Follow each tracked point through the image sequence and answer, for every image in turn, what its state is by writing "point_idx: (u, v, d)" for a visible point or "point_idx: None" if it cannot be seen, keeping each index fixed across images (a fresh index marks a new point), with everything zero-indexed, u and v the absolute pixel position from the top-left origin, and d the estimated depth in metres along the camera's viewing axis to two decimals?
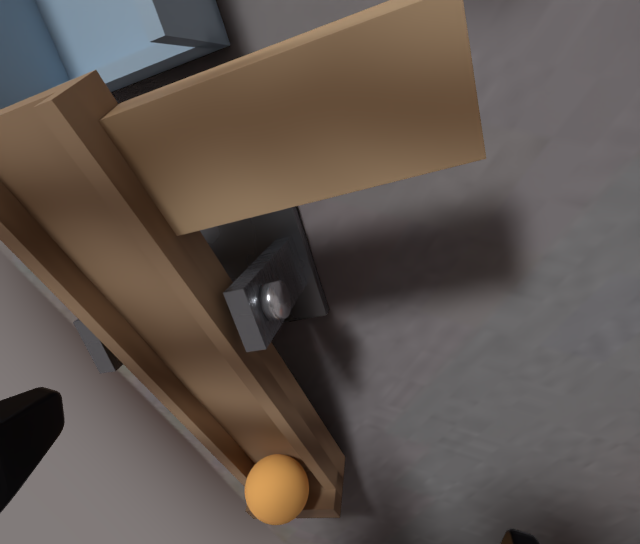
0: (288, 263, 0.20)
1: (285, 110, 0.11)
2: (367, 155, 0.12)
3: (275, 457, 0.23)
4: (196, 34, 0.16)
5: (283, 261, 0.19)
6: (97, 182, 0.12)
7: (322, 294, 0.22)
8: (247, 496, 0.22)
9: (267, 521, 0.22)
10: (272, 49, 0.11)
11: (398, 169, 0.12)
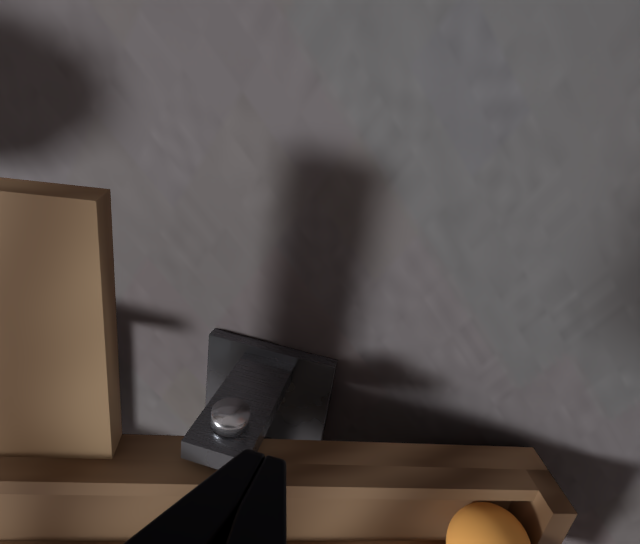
0: (250, 374, 0.19)
1: (9, 334, 0.14)
2: (67, 292, 0.13)
3: (451, 520, 0.18)
4: None
5: (240, 378, 0.19)
6: (15, 490, 0.15)
7: (316, 358, 0.21)
8: None
9: None
10: None
11: (88, 273, 0.13)
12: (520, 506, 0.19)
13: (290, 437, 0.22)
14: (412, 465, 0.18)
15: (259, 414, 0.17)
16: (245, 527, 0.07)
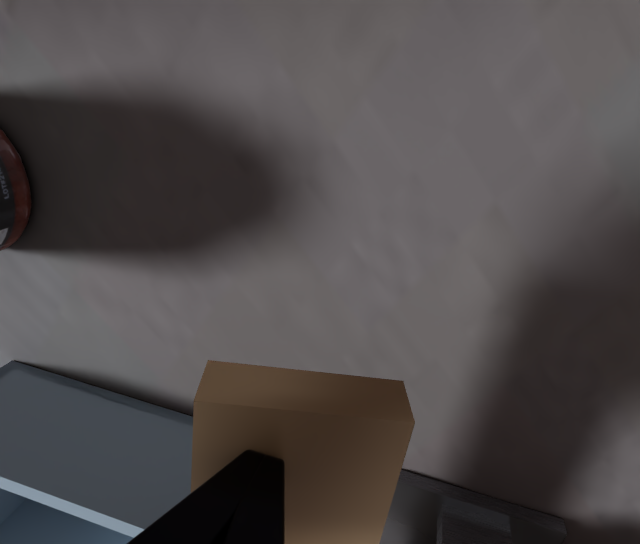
0: None
1: None
2: (338, 524, 0.09)
3: None
4: None
5: None
6: None
7: (537, 516, 0.16)
8: None
9: None
10: None
11: (374, 504, 0.09)
12: None
13: None
14: None
15: None
16: (243, 526, 0.07)
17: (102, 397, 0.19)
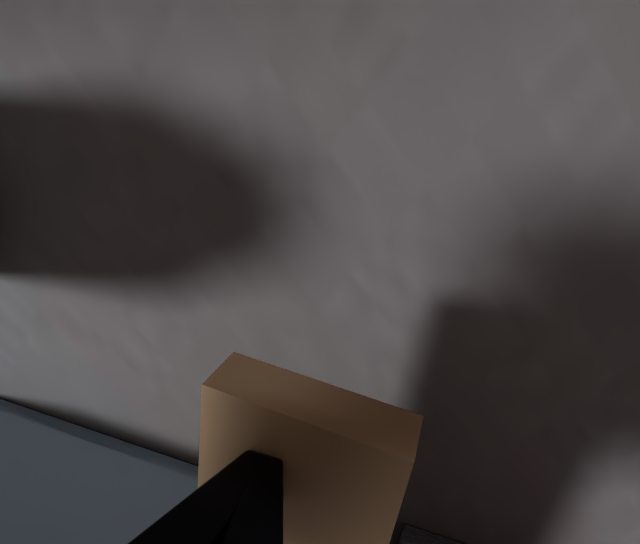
0: None
1: None
2: None
3: None
4: None
5: None
6: None
7: None
8: None
9: None
10: None
11: (370, 541, 0.08)
12: None
13: None
14: None
15: None
16: (242, 526, 0.07)
17: (74, 435, 0.17)
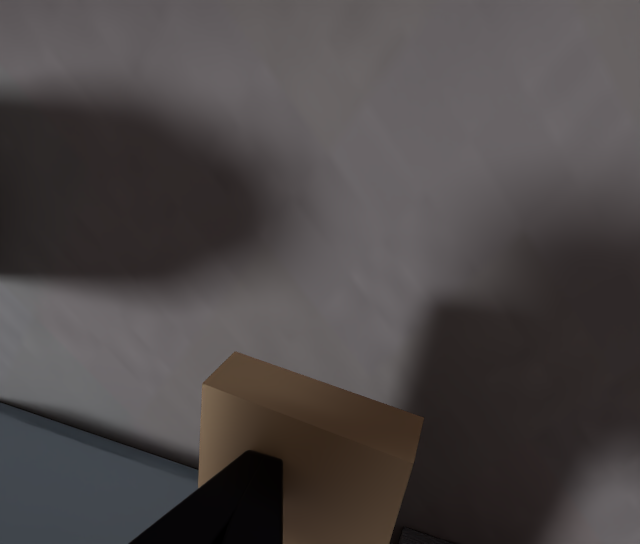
0: None
1: None
2: None
3: None
4: None
5: None
6: None
7: None
8: None
9: None
10: None
11: (369, 543, 0.08)
12: None
13: None
14: None
15: None
16: (242, 526, 0.07)
17: (71, 437, 0.17)
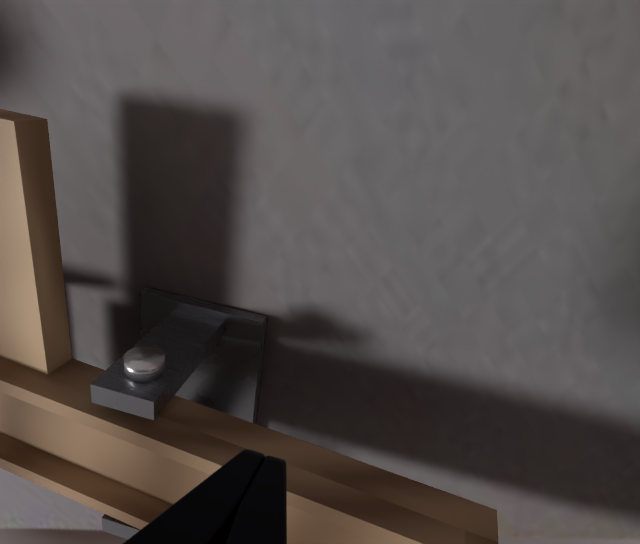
0: (176, 327, 0.20)
1: None
2: (3, 205, 0.15)
3: None
4: None
5: (165, 331, 0.19)
6: None
7: (245, 313, 0.21)
8: None
9: None
10: None
11: (15, 189, 0.15)
12: None
13: (225, 396, 0.22)
14: (318, 474, 0.15)
15: (177, 362, 0.17)
16: (245, 527, 0.07)
17: None
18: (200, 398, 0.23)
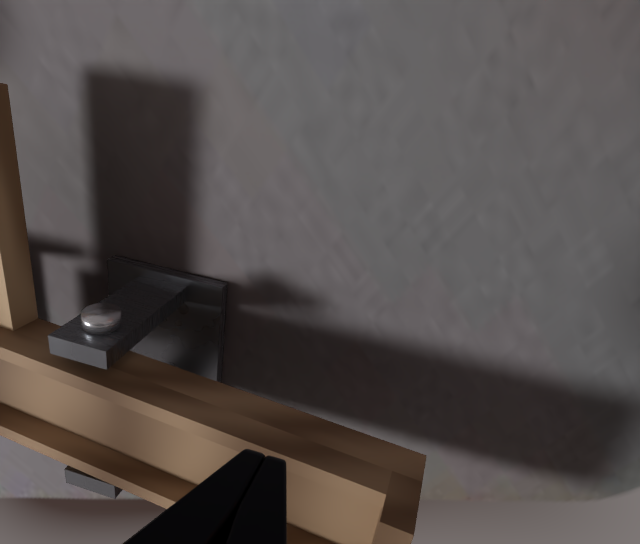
0: (138, 291, 0.20)
1: None
2: None
3: None
4: None
5: (127, 294, 0.20)
6: None
7: (207, 280, 0.22)
8: None
9: None
10: None
11: None
12: (379, 515, 0.15)
13: (190, 362, 0.23)
14: (259, 420, 0.16)
15: (134, 320, 0.18)
16: (245, 527, 0.07)
17: None
18: None
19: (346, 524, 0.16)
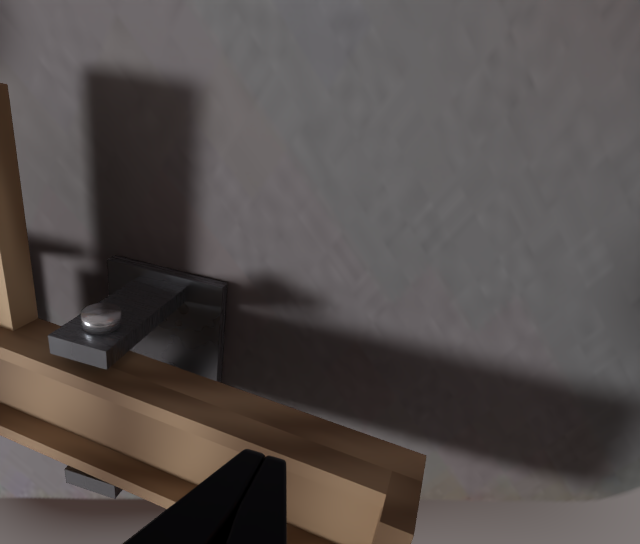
0: (138, 291, 0.20)
1: None
2: None
3: None
4: None
5: (127, 294, 0.20)
6: None
7: (207, 280, 0.22)
8: None
9: None
10: None
11: None
12: (379, 515, 0.15)
13: (190, 362, 0.23)
14: (259, 420, 0.16)
15: (134, 320, 0.18)
16: (245, 527, 0.07)
17: None
18: None
19: (346, 524, 0.16)
